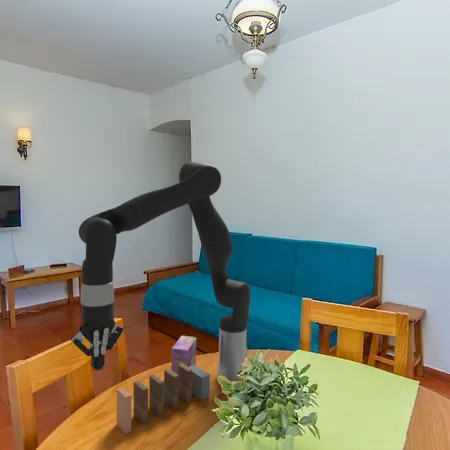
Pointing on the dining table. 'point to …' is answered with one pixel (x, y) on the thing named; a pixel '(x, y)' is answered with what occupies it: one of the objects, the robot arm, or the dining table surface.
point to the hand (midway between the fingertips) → (97, 368)
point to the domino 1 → (141, 402)
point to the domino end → (124, 410)
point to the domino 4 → (185, 383)
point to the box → (183, 352)
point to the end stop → (200, 382)
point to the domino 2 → (156, 395)
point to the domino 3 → (171, 388)
